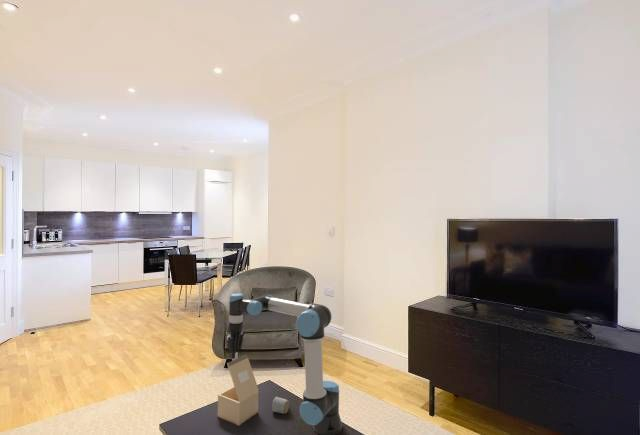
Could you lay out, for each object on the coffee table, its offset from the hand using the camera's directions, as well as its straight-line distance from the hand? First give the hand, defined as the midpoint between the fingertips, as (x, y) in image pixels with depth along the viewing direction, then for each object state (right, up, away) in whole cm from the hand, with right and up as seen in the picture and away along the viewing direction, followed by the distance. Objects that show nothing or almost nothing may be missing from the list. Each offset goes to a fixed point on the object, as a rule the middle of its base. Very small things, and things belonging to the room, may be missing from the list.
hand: (234, 363), depth 197 cm
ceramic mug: (+26, -28, +3) cm, 38 cm away
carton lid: (+5, -6, -3) cm, 9 cm away
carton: (+2, -28, -2) cm, 28 cm away
